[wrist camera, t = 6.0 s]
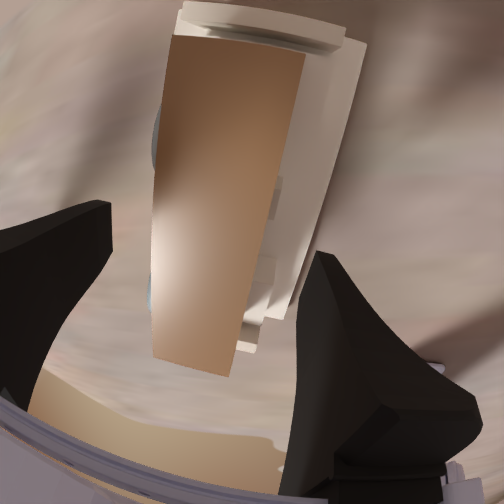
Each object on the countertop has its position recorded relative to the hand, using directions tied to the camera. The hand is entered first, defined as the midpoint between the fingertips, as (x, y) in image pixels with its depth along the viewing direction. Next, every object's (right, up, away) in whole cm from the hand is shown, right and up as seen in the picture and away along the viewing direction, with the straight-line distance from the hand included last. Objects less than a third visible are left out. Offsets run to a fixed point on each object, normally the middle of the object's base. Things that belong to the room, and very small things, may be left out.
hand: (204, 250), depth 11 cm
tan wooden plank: (0, +2, +3) cm, 4 cm away
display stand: (+1, +4, +6) cm, 8 cm away
